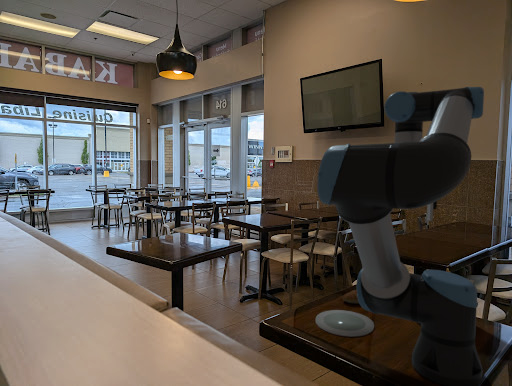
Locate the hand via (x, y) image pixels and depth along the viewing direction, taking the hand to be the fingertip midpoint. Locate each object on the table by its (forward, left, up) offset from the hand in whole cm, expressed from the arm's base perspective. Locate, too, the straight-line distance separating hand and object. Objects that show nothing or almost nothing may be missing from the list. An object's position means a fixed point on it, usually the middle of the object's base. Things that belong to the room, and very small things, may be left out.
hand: (405, 219), depth 104 cm
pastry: (+23, +14, -35) cm, 44 cm away
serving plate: (+2, +17, -34) cm, 38 cm away
